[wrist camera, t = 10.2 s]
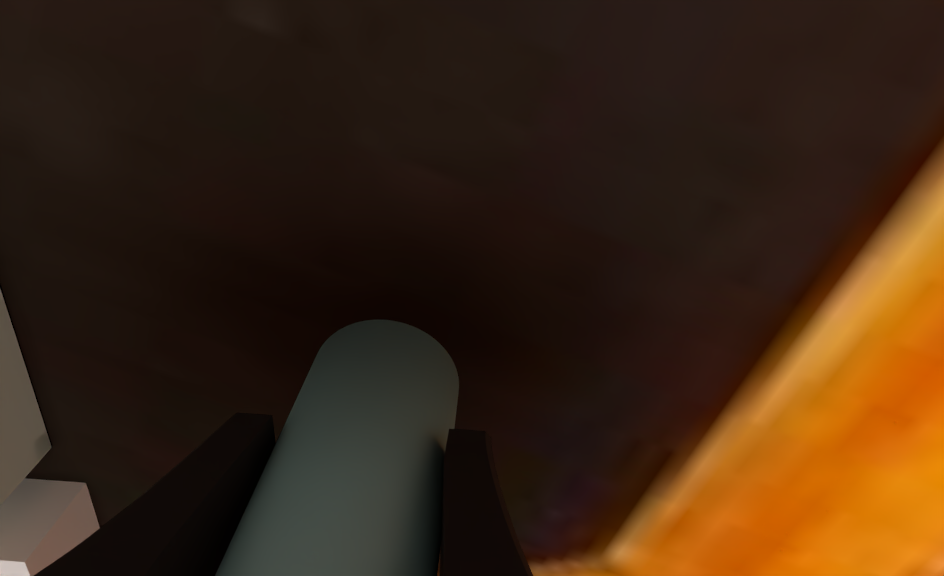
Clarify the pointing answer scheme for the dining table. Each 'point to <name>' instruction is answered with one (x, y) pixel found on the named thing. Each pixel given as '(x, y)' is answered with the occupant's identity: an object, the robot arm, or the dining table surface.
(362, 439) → the dowel
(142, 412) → the dining table surface
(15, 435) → the tray
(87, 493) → the pale grey box
